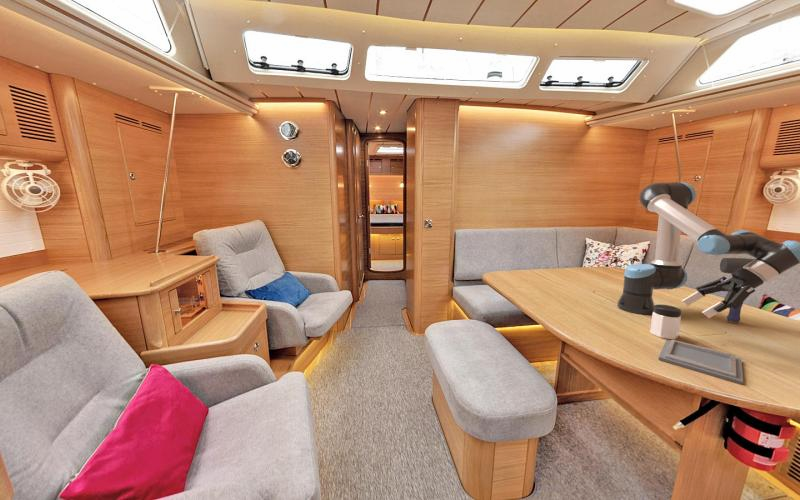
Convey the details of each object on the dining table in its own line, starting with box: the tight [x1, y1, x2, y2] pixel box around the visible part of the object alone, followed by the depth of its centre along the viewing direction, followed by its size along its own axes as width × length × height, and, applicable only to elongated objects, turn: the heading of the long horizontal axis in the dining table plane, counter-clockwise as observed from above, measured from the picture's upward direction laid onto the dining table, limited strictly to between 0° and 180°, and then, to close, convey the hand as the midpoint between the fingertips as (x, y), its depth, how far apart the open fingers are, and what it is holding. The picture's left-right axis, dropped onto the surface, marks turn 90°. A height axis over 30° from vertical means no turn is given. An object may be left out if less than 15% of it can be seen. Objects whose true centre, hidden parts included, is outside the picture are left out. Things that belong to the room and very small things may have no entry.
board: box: [658, 339, 744, 385], centre depth 98 cm, size 19×19×1 cm
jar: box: [649, 304, 682, 340], centre depth 116 cm, size 9×8×12 cm
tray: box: [665, 339, 736, 377], centre depth 97 cm, size 16×16×1 cm
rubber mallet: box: [719, 257, 756, 324], centre depth 124 cm, size 12×8×30 cm, turn 56°
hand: (694, 308), depth 111 cm, fingers open, 13 cm apart
